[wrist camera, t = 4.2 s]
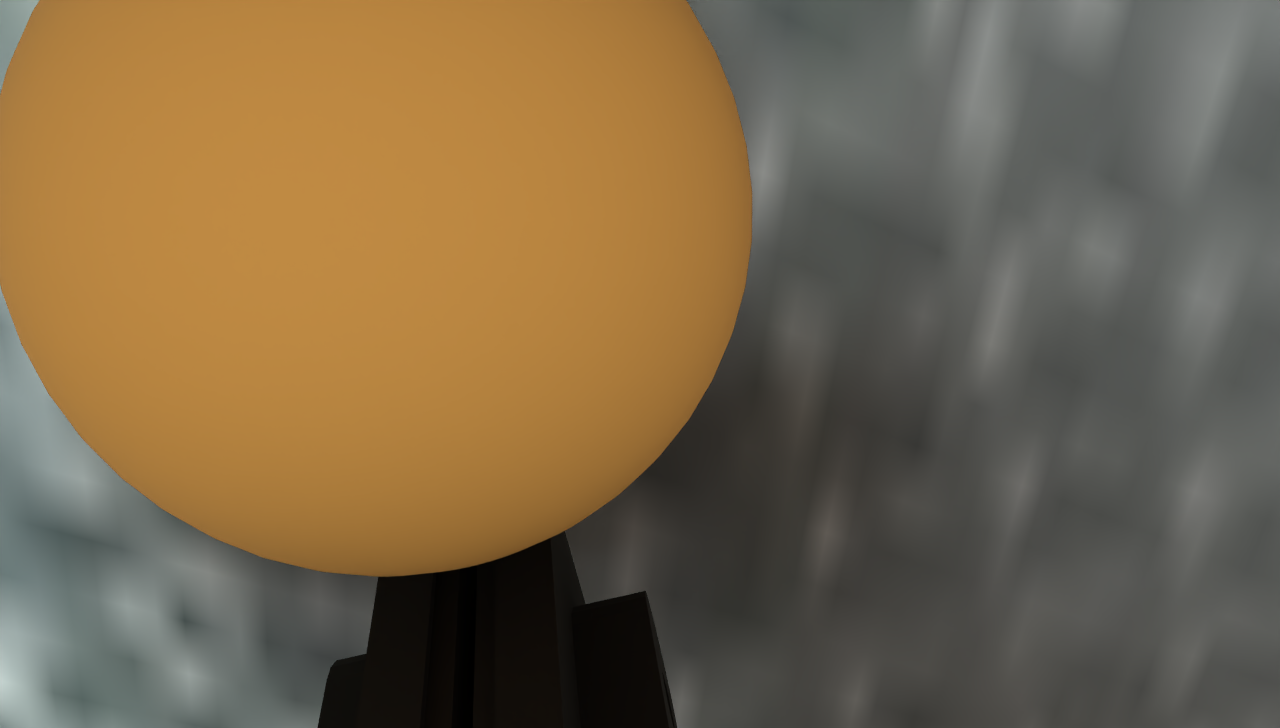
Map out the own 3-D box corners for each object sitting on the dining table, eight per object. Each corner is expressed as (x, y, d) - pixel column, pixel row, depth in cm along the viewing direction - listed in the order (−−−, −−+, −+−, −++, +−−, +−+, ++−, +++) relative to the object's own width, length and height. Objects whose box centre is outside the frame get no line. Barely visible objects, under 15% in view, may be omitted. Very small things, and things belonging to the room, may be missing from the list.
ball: (955, 466, 8) (831, -274, 7) (281, 835, 5) (-76, -477, 4) (553, 442, 12) (448, -30, 12) (43, 628, 9) (-152, -26, 8)
